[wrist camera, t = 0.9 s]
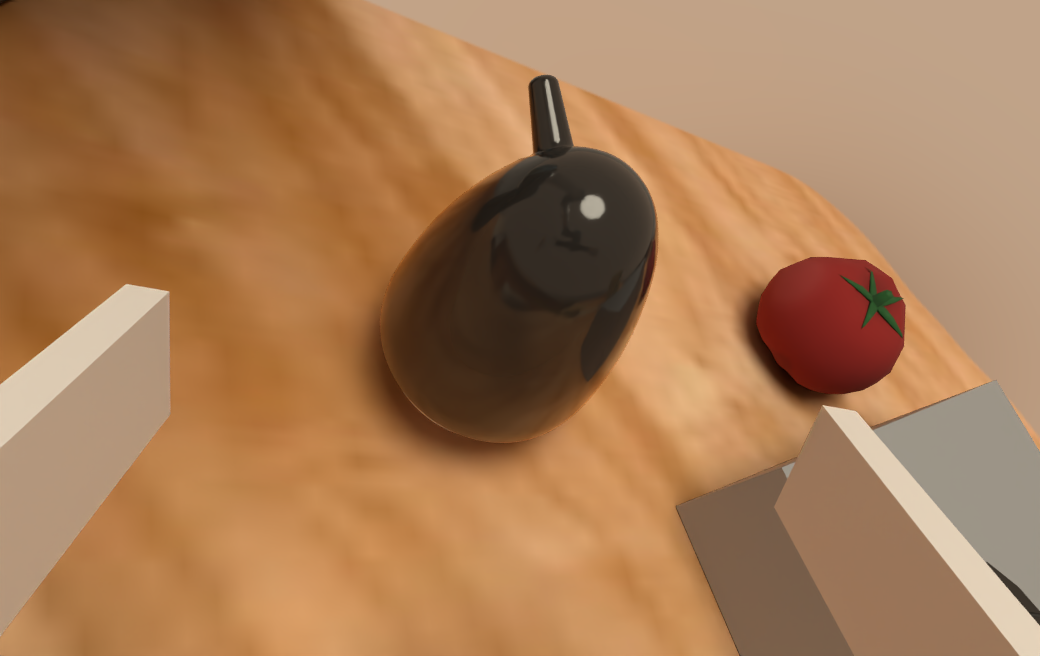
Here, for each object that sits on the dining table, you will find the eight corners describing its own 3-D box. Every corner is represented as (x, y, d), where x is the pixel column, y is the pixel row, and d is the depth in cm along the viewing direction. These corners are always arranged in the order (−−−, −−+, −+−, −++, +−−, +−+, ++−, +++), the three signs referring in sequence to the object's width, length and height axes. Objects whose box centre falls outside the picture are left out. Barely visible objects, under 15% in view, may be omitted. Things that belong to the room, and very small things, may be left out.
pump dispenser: (525, 259, 38) (673, 53, 25) (590, 437, 35) (799, 303, 22) (341, 282, 34) (410, 46, 21) (397, 490, 30) (520, 359, 18)
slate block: (675, 506, 35) (781, 467, 28) (874, 425, 42) (996, 379, 36) (827, 858, 30) (997, 911, 24) (1021, 698, 38) (1193, 704, 31)
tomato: (833, 304, 46) (926, 249, 40) (853, 418, 42) (958, 376, 36) (731, 276, 43) (813, 212, 37) (743, 394, 40) (835, 344, 34)
